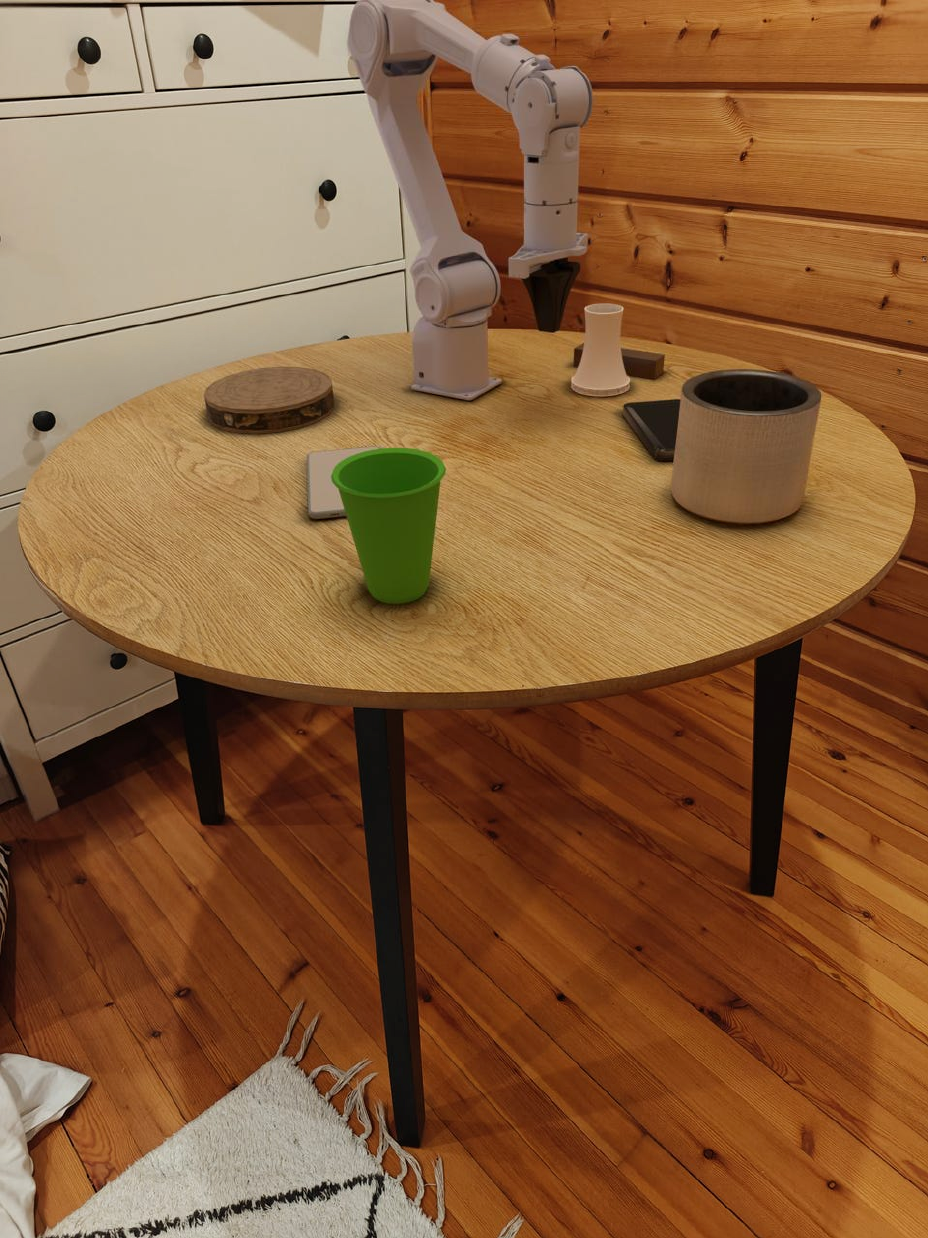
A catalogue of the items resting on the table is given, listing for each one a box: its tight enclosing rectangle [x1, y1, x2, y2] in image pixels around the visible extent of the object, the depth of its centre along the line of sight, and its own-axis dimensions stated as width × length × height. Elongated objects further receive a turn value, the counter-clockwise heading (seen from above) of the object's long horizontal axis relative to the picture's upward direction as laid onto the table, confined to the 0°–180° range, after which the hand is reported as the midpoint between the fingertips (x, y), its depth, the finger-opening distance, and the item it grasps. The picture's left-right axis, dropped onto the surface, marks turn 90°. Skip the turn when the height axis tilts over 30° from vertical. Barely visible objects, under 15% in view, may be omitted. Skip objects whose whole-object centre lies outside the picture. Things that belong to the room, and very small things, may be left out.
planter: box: [670, 368, 822, 526], centre depth 86 cm, size 12×12×11 cm
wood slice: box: [203, 366, 335, 435], centre depth 114 cm, size 16×16×3 cm
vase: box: [570, 303, 631, 397], centre depth 114 cm, size 8×8×10 cm
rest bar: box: [573, 342, 666, 380], centre depth 122 cm, size 12×3×2 cm, turn 57°
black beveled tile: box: [622, 398, 681, 462], centre depth 103 cm, size 8×1×15 cm
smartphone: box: [306, 445, 381, 520], centre depth 94 cm, size 8×1×15 cm
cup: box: [331, 447, 447, 605], centre depth 74 cm, size 9×9×11 cm
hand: (548, 330), depth 103 cm, fingers closed
